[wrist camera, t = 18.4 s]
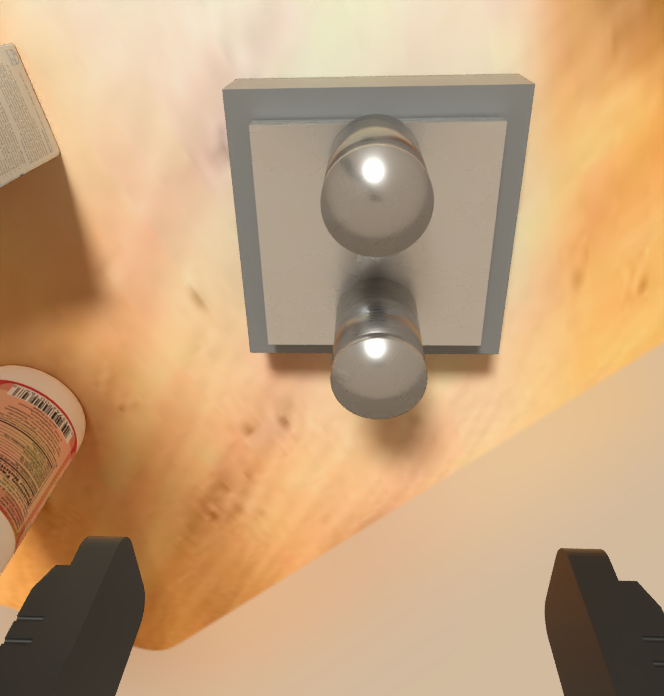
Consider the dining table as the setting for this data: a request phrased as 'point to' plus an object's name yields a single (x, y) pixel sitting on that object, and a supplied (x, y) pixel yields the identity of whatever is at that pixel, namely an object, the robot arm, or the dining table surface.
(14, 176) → the light bulb box
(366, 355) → the cylinder
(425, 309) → the platform
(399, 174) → the cylinder
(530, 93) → the scale
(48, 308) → the dining table surface
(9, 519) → the fruit juice
